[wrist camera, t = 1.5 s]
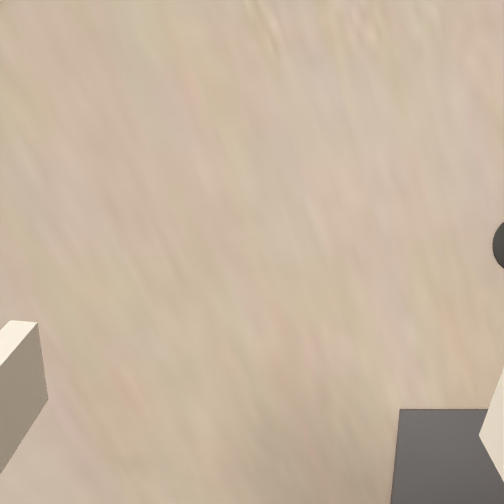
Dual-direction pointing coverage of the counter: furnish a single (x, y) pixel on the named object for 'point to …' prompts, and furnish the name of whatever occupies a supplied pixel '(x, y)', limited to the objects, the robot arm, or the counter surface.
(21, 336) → the robot arm
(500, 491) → the mat
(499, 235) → the sundae
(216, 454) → the counter surface
